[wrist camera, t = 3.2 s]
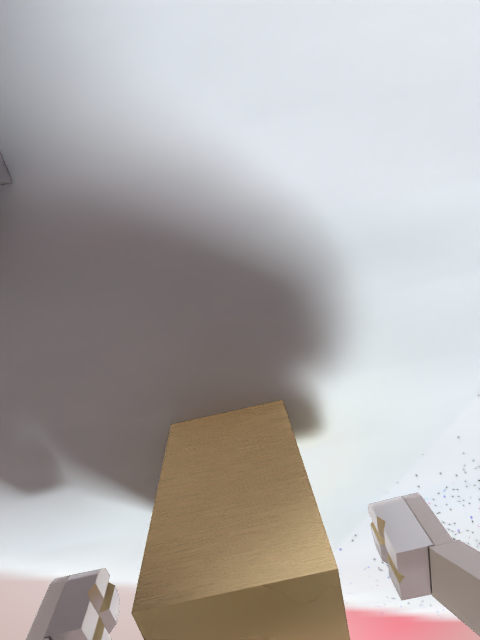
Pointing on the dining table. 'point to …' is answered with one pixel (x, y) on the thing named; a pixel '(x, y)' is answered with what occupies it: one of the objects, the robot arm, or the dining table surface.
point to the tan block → (237, 537)
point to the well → (4, 173)
